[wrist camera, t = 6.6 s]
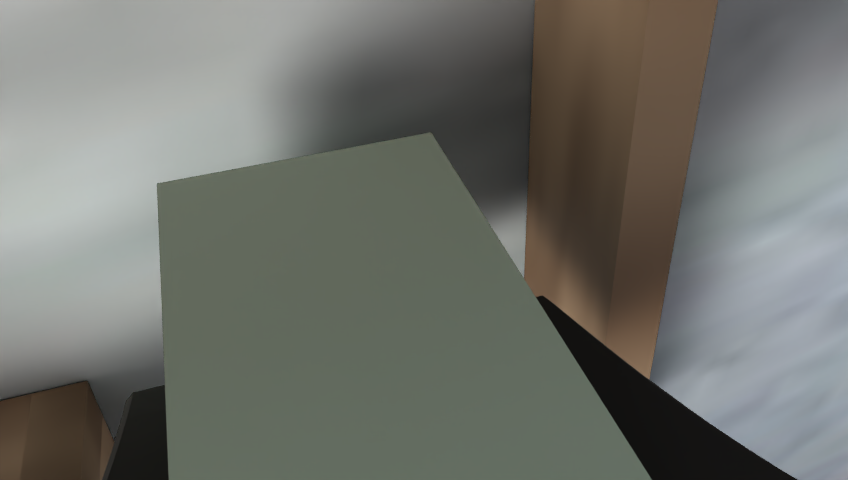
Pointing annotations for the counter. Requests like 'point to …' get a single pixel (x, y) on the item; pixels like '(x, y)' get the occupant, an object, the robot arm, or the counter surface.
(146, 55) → the counter surface
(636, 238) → the channel
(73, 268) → the counter surface
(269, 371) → the sage block
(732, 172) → the counter surface
